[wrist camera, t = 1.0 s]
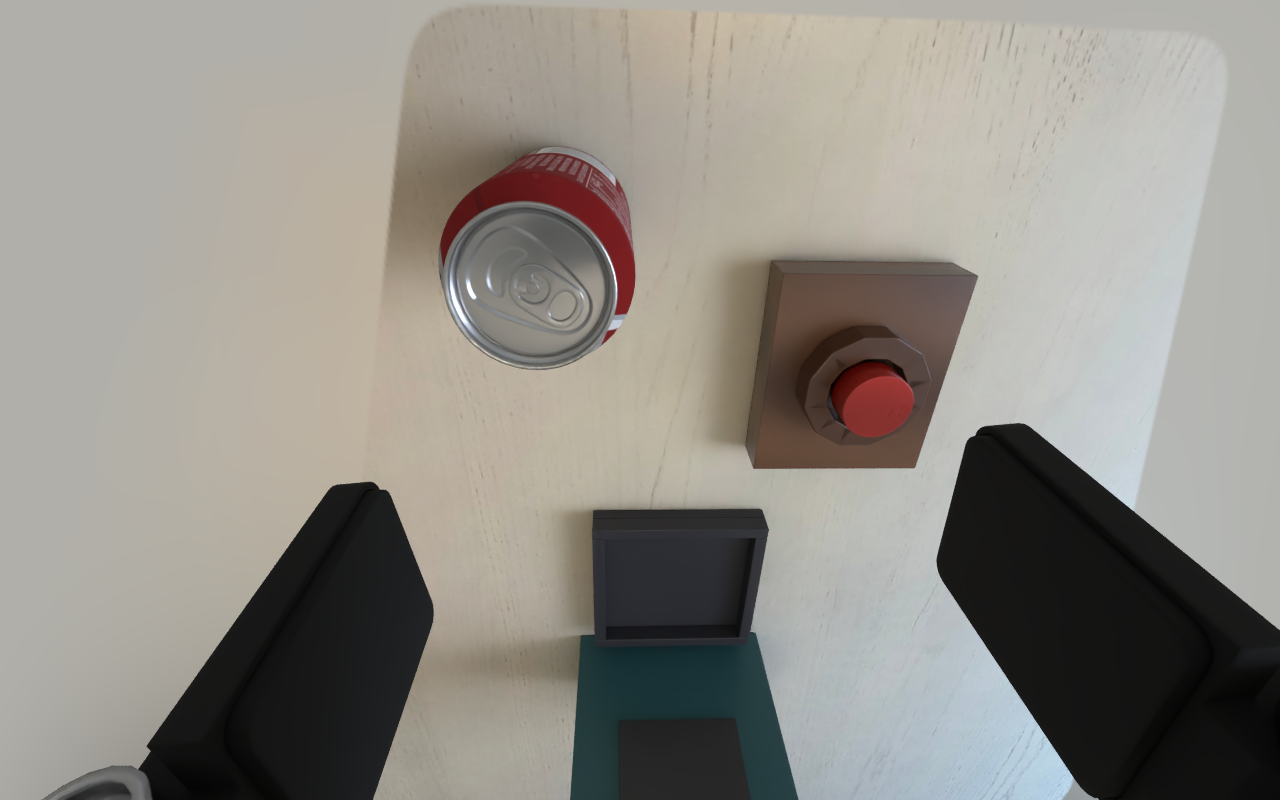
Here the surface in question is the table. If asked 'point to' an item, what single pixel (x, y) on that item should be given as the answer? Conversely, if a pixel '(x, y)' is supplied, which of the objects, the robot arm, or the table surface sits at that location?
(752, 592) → the tray
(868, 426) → the button
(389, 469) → the table surface
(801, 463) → the switch
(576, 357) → the soda can
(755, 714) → the drinks machine
